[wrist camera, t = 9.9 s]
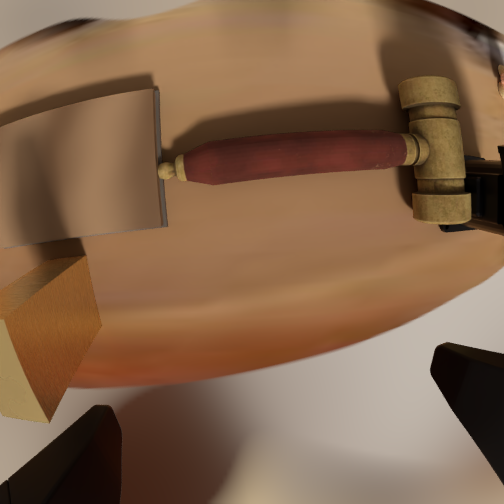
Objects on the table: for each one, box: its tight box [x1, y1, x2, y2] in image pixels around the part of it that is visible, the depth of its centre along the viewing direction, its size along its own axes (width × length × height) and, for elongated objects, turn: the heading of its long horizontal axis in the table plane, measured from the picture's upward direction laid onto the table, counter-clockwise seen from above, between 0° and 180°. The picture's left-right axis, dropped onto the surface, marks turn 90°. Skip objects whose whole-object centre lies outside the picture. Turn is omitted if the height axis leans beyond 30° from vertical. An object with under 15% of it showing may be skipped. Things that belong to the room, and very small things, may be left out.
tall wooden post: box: [0, 255, 102, 423], centre depth 13 cm, size 3×5×10 cm, turn 3°
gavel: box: [158, 75, 471, 224], centre depth 17 cm, size 21×5×10 cm
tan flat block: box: [0, 88, 168, 249], centre depth 15 cm, size 12×8×2 cm
